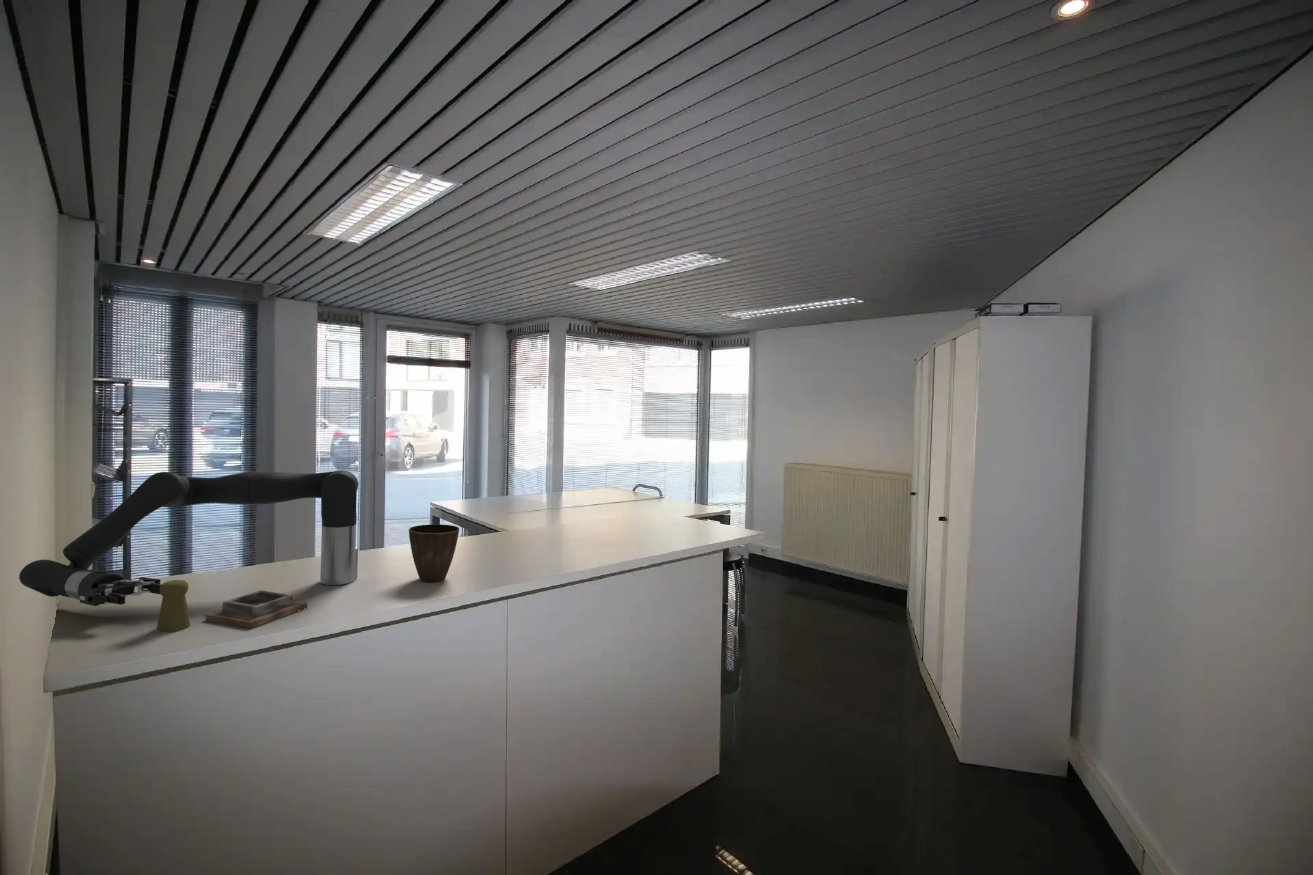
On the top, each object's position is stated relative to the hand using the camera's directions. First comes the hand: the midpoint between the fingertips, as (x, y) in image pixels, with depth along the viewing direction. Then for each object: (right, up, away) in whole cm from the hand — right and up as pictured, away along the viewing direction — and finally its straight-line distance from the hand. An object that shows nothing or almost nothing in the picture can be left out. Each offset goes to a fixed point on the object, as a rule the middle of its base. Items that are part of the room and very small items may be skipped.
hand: (143, 594), depth 143 cm
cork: (+9, -7, -2) cm, 12 cm away
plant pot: (+51, -7, +46) cm, 69 cm away
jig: (+21, -7, +9) cm, 24 cm away
